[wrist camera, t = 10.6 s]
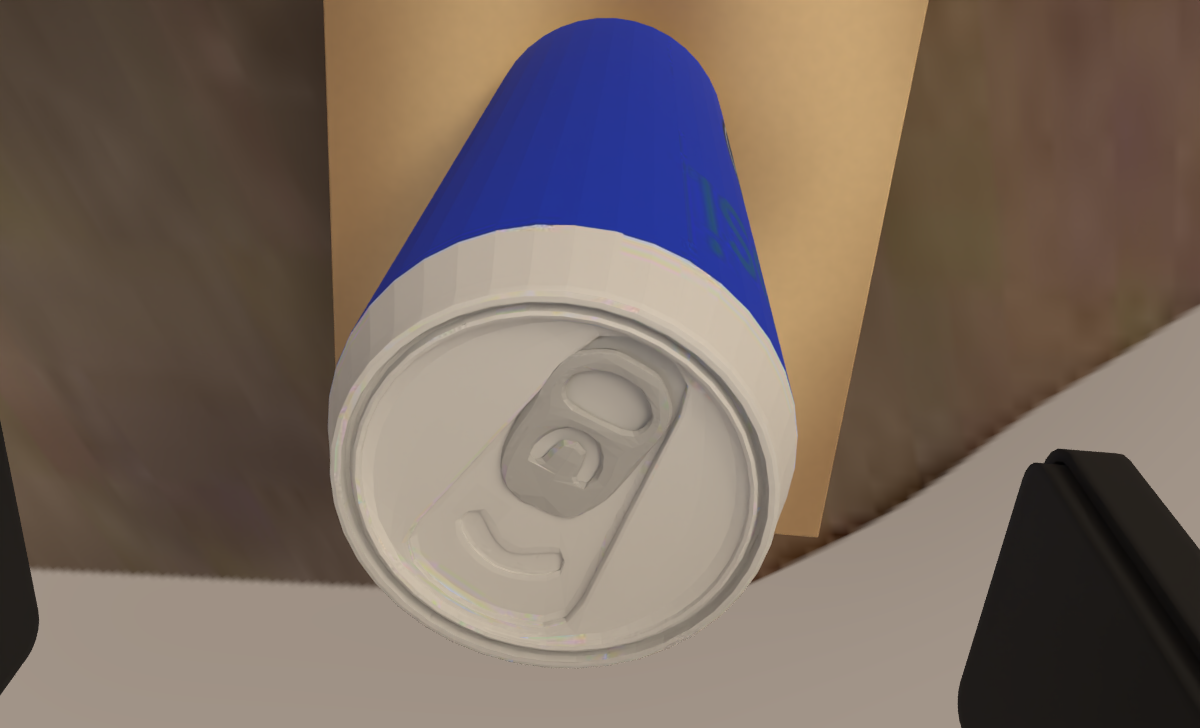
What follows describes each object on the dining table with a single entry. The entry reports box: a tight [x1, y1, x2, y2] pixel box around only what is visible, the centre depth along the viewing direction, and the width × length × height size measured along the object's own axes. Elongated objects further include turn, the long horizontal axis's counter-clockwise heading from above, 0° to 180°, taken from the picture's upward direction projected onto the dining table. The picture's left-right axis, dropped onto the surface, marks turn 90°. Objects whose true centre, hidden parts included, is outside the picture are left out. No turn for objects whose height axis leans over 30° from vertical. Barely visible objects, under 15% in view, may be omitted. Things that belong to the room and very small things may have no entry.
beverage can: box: [328, 18, 798, 668], centre depth 18 cm, size 5×5×15 cm
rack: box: [323, 0, 929, 537], centre depth 29 cm, size 13×15×7 cm
